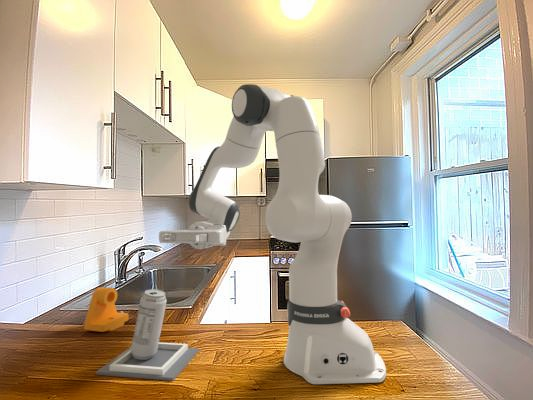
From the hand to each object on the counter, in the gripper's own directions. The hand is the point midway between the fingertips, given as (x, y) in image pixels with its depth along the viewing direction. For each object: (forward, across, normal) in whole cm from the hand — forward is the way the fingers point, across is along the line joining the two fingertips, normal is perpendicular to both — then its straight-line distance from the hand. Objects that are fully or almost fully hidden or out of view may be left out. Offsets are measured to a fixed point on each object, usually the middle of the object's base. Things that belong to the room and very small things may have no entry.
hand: (178, 238), depth 84 cm
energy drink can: (+12, -3, +27) cm, 29 cm away
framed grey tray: (+12, 0, +28) cm, 30 cm away
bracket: (-4, -28, +28) cm, 40 cm away
